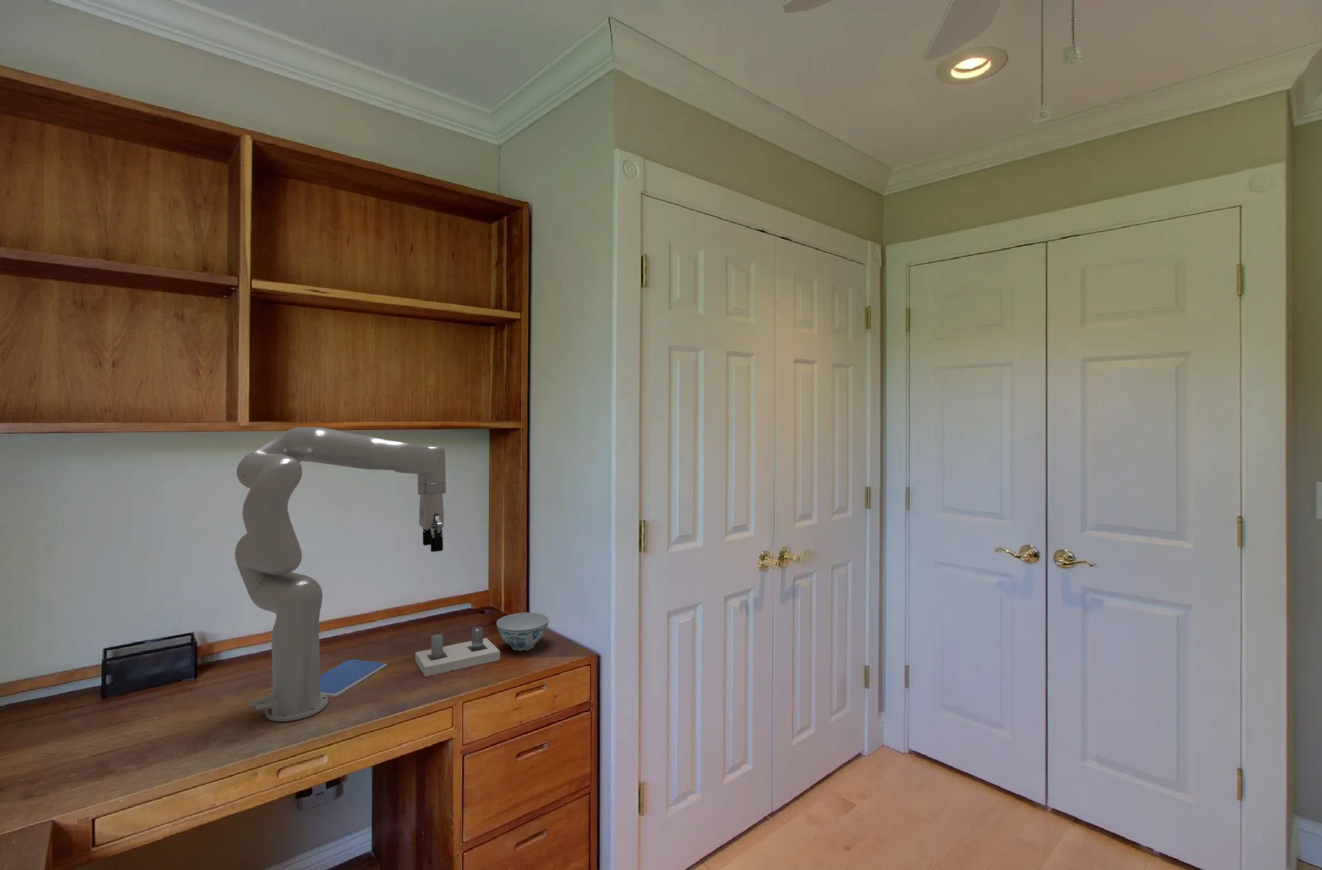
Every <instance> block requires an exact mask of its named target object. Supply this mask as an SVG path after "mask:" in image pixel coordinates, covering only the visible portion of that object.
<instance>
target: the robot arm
mask: <svg viewBox="0 0 1322 870" xmlns="http://www.w3.org/2000/svg"><path fill="white" fill-rule="evenodd" d="M301 462H306V463H309V462H310V463H316V464H317V463H318V464H324V465H331V466H340V467H344V468H345V467H347V468H353V469H359V470H360V469H363V470H373V471H376V470H378V471H379V470H384V471H394V472H396V473H401V474H412V475H413V474H414V475H417V495H420V497H419V513H418V515H419V518H418V524H419V526H420V527H421V528H422V545H423V546H430V552H432V553H433V552H434V553H435V552H442V551H444V536H443V535H444V534H443V528H444V526H445V525H444V523H445V522H444V521H445V519H444V518H445V517H444V516H445V513H444V496H443V495H445V494H447V484H446V483H447V481H446V479H447V478H446V473H447V472H446V449H445V447H444V446H442V445H436V444H432V445H431V444H428V445H418V444H414V443H413V444H412V443H407V442H401V441H395V440H390V439H386V438H379V437H375V436H370V435H363V434H359V433H353V432H347V431H344V430H339V429H332V428H327V427H319V426H296V427H293V428H291V429H288V430H286V431H284V432H282V433H281V434H279V435H277V436H276V437H274V438H272V439H271V440H269V441H267V442H266V443H264V444H263V445H261V446H260V447H257V448H256V449H255V450H252V451H250V453H248V454H247V455H245V456H244V457H243V458H242V459H241V460H240V461H239V463H238V465H237V466H236V467H237V468H236V477H237V479H238V481H239V483H240V484H241V485H243V486H244V487H245V488H248V489H249V491H248V493H247V495H246V496H245V499H244V502H243V506H242V512H241V513H242V521H243V524H244V527H245V531H246V533H245V534H243V536H241V538H240V539H239V540H238V542H237V544H236V546H235V550H234V559H235V563H236V567H237V569H238V571H239V574H240V576H241V579H242V581H243V584H244V586H245V588H246V589H245V590H246V591H247V593H248V597H250V599H251V601H252V603H254V605H255V606H257V607H258V608H259V609H262V610H265V611H266V612H267V611H268V612H271V613H274V614H276V615H275V616H276V618H275V621H274V625H273V628H272V631H271V665H272V667H271V668H272V690H270V694H268V695H265V697H262V698H256V699H249V710H252V709H255V711H256V712H259V711H263V710H265V718H267V719H268V720H270V721H273V722H291V721H297V720H302V719H305V718H308V717H311V716H313V715H315V714H318V713H319V712H321V711H323V710H324V709H325V708H326V707H327V706H328V703H329V698H328V697H329V696H326V695H325V694H323V693H320V675H321V667H320V665H321V664H320V663H321V659H320V657H321V655H320V614H321V609H322V603H323V597H324V596H323V589H322V587H321V585H320V584H319V582H318V581H317V580H316V579H314V578H312V577H311V576H308V575H305V574H303V573H302V574H301V573H296V572H294V571H295V570H297V568H299V566H300V564H301V562H302V559H303V553H302V549H301V546H300V543H299V540H298V538H297V535H296V531H295V528H294V527H293V523H292V522H291V521H292V520H291V518H290V514H289V510H288V507H289V501H290V498H291V496H292V494H293V493H294V491H295V489H296V488H297V487H298V485H299V484H300V482H301V479H302V477H303V468H302V465H301Z"/></svg>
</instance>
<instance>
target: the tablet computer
mask: <svg viewBox="0 0 1322 870" xmlns="http://www.w3.org/2000/svg"><path fill="white" fill-rule="evenodd" d="M387 666H388V665H387V663H385V662H379V661H369V660H360V659H348V660H346V661H344V662H342V663H340V664H339V665H336V666H334V667H333V668H331V669H329V670H327V671H326V672H323V673H322V674H320V693H323V694H325V695H326V696H327V697H331V698H335V697H338V696H340V695H342V694H344V693H345V692H347V691H348V690H350V689H351V688H353V687H354V686H356V685H358V684H359V683H361V682H362V681H364V680H365V679H367V678H369V677H371V676H372V675H374V674H376V673H377V672H379V671H380V670H382V669H385V668H386V667H387ZM346 690H347V691H346Z"/></svg>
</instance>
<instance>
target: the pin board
mask: <svg viewBox="0 0 1322 870" xmlns="http://www.w3.org/2000/svg"><path fill="white" fill-rule="evenodd" d="M430 639H431V640H430V645H431V648H430V649H425V650H421V651H416V652H415V653H414V654H415V655H414V658H415V659H414V661H415V663H416V664H417V665H418V667H419V669H420V671H421V672H422V674H423V676H424V677H425V678H426V677H431V676H435V675H439V673H440V674H443V673H448V672H449V673H450V672H452V671H451V670H453V671H457V669H458V670H461V668H462V669H466V668H471V667H475V666H480V665H483V664H488V663H489V664H490V663H493V662H497V661H500V660H501V651H500V649H498V648H497V647H496V645H494V643H492V642H491V641H490V640H489V638H487V637H485V638H484V637H483V650H479V651H474V652H472V640H470V641H464V642H459V643H455V644H450V645H445V646H444V635H443V634H441V633H440V634H438V633H437V634H434V635H431V637H430ZM470 666H471V667H470ZM430 675H431V676H430Z"/></svg>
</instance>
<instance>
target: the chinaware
mask: <svg viewBox="0 0 1322 870" xmlns="http://www.w3.org/2000/svg"><path fill="white" fill-rule="evenodd" d="M496 621H497V622H496V627H497V631H498V634H499V636H500V638H501V639H502V640H503V642H505V643H506V644H508V645H509V646H510V647H511V649H512V650H514V651H517V650H518V652H519V651H520V652H523V651H522V650H525V651H529V650H532V649H533V648H535V646H536V645H535V644H537V643H538V642H539V641H541V640H542V638H543V637H544V636H545V634H546V632H547V629H548V626H549V621H550V620H549V617H548V616H547V615H545V614H543V613H537V612H518V613H517V612H516V613H513V614H508V615H504V616H502V617H501V618H499V619H498V620H496ZM531 648H532V649H531Z"/></svg>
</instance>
